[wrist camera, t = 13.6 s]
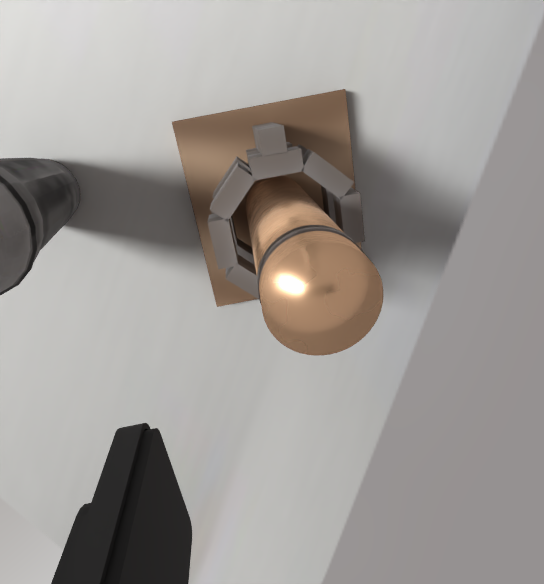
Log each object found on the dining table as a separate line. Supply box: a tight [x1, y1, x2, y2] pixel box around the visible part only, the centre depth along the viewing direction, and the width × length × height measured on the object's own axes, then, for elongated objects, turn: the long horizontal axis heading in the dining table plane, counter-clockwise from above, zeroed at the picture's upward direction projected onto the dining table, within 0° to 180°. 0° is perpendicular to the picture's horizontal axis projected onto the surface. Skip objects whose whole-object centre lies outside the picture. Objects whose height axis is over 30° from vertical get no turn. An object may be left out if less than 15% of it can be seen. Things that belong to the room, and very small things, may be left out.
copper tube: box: [246, 176, 383, 355], centre depth 25 cm, size 5×5×18 cm
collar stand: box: [172, 89, 365, 307], centre depth 30 cm, size 14×12×8 cm
